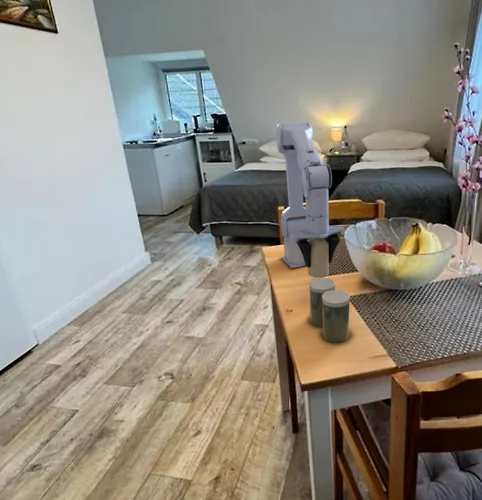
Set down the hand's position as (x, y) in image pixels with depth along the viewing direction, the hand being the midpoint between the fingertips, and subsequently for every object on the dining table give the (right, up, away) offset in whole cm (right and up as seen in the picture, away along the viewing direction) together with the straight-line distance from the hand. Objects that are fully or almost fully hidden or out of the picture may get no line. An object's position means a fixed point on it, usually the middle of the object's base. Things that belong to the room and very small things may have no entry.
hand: (318, 263), depth 102 cm
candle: (0, -3, +1) cm, 3 cm away
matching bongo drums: (+2, -15, -10) cm, 18 cm away
